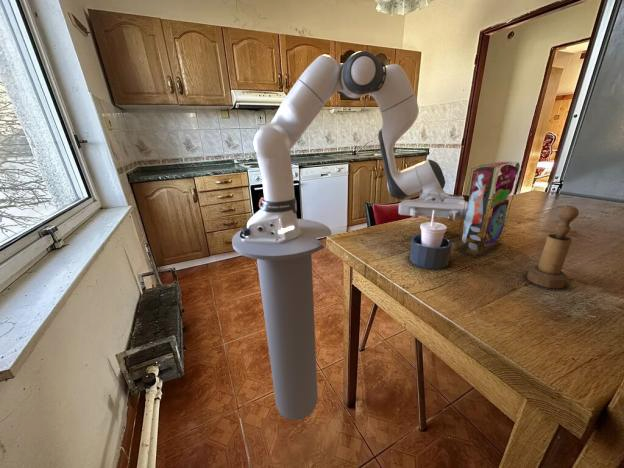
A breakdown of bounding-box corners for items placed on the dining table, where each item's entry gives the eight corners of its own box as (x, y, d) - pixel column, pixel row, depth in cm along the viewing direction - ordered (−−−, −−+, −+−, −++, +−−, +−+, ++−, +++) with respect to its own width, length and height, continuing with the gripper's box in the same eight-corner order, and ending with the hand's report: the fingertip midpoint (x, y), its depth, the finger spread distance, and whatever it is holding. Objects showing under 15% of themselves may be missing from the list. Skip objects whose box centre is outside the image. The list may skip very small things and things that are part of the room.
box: (492, 231, 89) (509, 158, 80) (513, 236, 84) (533, 159, 75) (454, 251, 76) (470, 166, 67) (477, 258, 71) (497, 168, 62)
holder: (417, 269, 67) (419, 248, 64) (404, 253, 76) (406, 234, 74) (455, 268, 67) (459, 247, 64) (438, 252, 76) (441, 233, 73)
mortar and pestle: (540, 272, 63) (564, 201, 57) (571, 286, 57) (602, 208, 51) (519, 276, 62) (541, 204, 55) (549, 291, 56) (577, 212, 49)
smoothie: (411, 255, 73) (417, 208, 68) (429, 251, 75) (436, 205, 70) (427, 265, 67) (435, 214, 62) (447, 261, 69) (455, 211, 64)
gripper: (400, 193, 88) (396, 203, 76) (469, 196, 80) (476, 208, 68) (398, 211, 90) (394, 223, 78) (465, 215, 82) (471, 230, 70)
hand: (433, 216), depth 73 cm, fingers open, 8 cm apart
